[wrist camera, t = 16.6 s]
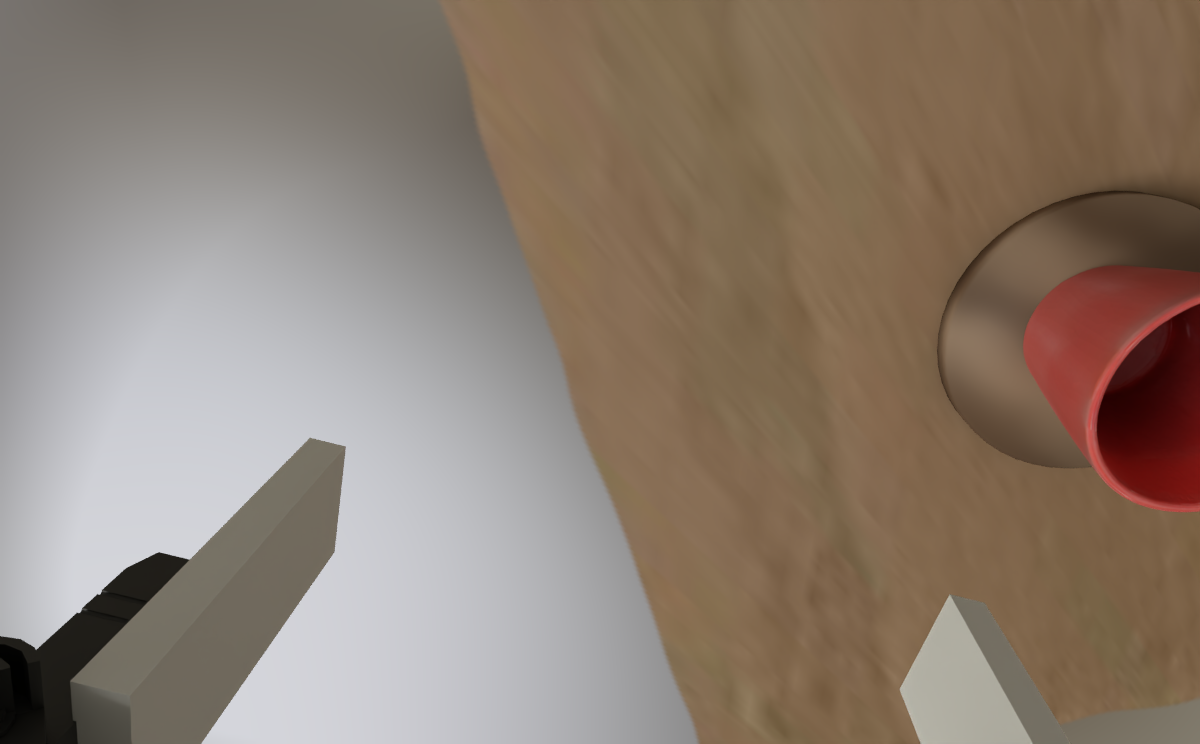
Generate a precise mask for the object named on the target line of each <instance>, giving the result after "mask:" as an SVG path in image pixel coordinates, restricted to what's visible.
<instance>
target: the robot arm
mask: <svg viewBox="0 0 1200 744" xmlns="http://www.w3.org/2000/svg"><path fill="white" fill-rule="evenodd" d="M345 448H346V447H345V446H341V445H336V444H332V443H329V442H325V441H320V440H316V439H312V438H309V439H308V441H307V442H306V443H305V444H304V445H303V446H302V447H301V448H300V449H299V450H298V451H297V452H296V453H295V454H294V455H293V456H292V457H291V458H290V459H289V460H288V461H287V462H286V463H285V464H284V465H283V466H282V467H281V468H280V469H279V470H278V471H277V472H276V473H275V474H274V475H273V476H272V477H271V478H270V479H269V480H268V481H267V482H266V483H265V484H264V485H263V486H262V487H261V488H260V489H259V490H258V491H257V492H256V493H255V494H254V495H253V496H252V497H251V498H250V499H249V500H248V501H247V502H246V503H245V504H244V506H242V508H240V510H239V511H238V512H237V513H236V514H235V515H234V516H233V517H232V518H231V519H230V520H229V521H228V522H227V523H226V524H225V525H224V526H223V527H222V528H221V529H220V530H219V531H218V532H217V533H216V534H215V535H214V536H213V537H212V538H211V539H210V540H209V541H208V542H207V543H206V544H205V545H204V546H203V547H202V548H201V549H200V550H199V551H198V552H197V553H196V554H195V555H194V556H193V557H192V558H191V559H190V560H188V559H184V558H180V557H176V556H172V555H168V554H164V553H160V552H159V553H156V554H154V555H152V556H150V557H148V558H146V559H144V560H142V561H140V562H138V563H136V564H134V565H132V566H130V567H128V568H126V569H125V570H124V571H123V572H121V573H120V574H119V575H118V576H117V577H116V578H115V579H114V580H113V581H112V582H110V583H109V584H108V585H107V586H106V587H105V588H104V589H103V590H102V592H101V594H100V595H98V594H97V595H96V596H95V597H94V598H93V599H92V600H91V601H90V602H89V603H87V604H86V605H85V606H84V607H83V608H82V611H81V612H80V613H76V614H75V615H74V616H73V617H72V618H71V619H70V620H69V621H68V622H67V623H65V624H64V625H63V626H62V627H61V628H60V629H59V630H58V631H57V632H56V633H55V634H53V635H52V636H51V637H50V638H49V639H48V640H47V641H46V642H45V643H43V644H42V645H41V646H40V647H39V648H38V649H37V650H35V648H34V647H33V646H31V645H29V644H28V643H26V642H24V641H22V640H21V639H15V638H8V637H1V636H0V744H201V743H202V741H203V740H204V739H205V737H206V736H207V734H208V733H209V731H210V730H211V728H212V727H213V726H214V724H215V723H216V721H217V720H218V718H219V717H220V716H221V714H222V713H223V711H224V710H225V708H226V707H227V706H228V704H229V703H230V701H231V700H232V698H233V697H234V695H235V694H236V693H237V691H238V690H239V688H240V687H241V685H242V684H243V682H244V681H245V680H246V678H247V677H248V675H249V674H250V673H251V671H252V670H253V668H254V667H255V665H256V664H257V662H258V661H259V660H260V658H261V657H262V655H263V654H264V652H265V651H266V650H267V648H268V647H269V645H270V644H271V642H272V641H273V639H274V638H275V637H276V635H277V634H278V632H279V631H280V629H281V628H282V626H283V625H284V624H285V622H286V621H287V619H288V618H289V616H290V615H291V614H292V612H293V611H294V609H295V608H296V606H297V605H298V604H299V602H300V601H301V599H302V598H303V596H304V595H305V593H306V592H307V590H308V589H309V588H310V586H311V585H312V583H313V582H314V581H315V579H316V578H317V576H318V575H319V573H320V572H321V570H322V569H323V568H324V566H325V565H326V563H327V562H328V560H329V559H330V558H331V556H332V555H333V553H334V551H335V541H336V532H337V522H338V513H339V504H340V495H341V485H342V476H343V467H344V458H345ZM900 691H901V694H902V696H903V699H904V702H905V704H906V707H907V709H908V712H909V714H910V717H911V720H912V722H913V725H914V727H915V730H916V732H917V735H918V738H919V740H920V743H921V744H1071V743H1070V741H1069V739H1068V738H1067V736H1066V735H1065V733H1064V731H1063V730H1062V728H1061V726H1060V725H1059V723H1058V721H1057V720H1056V718H1055V717H1054V715H1053V713H1052V712H1051V710H1050V708H1049V707H1048V705H1047V704H1046V702H1045V700H1044V699H1043V697H1042V695H1041V694H1040V692H1039V691H1038V689H1037V687H1036V686H1035V684H1034V682H1033V681H1032V679H1031V678H1030V676H1029V674H1028V673H1027V671H1026V669H1025V668H1024V666H1023V665H1022V663H1021V661H1020V660H1019V658H1018V656H1017V655H1016V653H1015V652H1014V650H1013V648H1012V647H1011V645H1010V643H1009V642H1008V640H1007V639H1006V637H1005V635H1004V634H1003V632H1002V630H1001V629H1000V627H999V626H998V624H997V622H996V621H995V619H994V617H993V616H992V614H991V613H990V611H989V609H988V608H987V606H986V604H985V603H983V602H979V601H975V600H970V599H966V598H962V597H958V596H954V595H949V597H948V599H947V601H946V603H945V604H944V606H943V608H942V610H941V612H940V614H939V616H938V618H937V620H936V621H935V623H934V625H933V627H932V629H931V631H930V633H929V635H928V637H927V639H926V640H925V642H924V644H923V646H922V648H921V650H920V652H919V654H918V656H917V658H916V659H915V661H914V663H913V665H912V667H911V669H910V671H909V673H908V675H907V676H906V678H905V680H904V682H903V684H902V686H901V688H900Z"/></svg>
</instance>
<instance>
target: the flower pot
mask: <svg viewBox="0 0 1200 744" xmlns="http://www.w3.org/2000/svg"><path fill="white" fill-rule="evenodd" d="M1023 352H1024V358H1025V361H1026V364H1027V367H1028V369H1029V371H1030V373H1031V375H1032V376H1033V378H1034V379H1035V381H1036V383H1037V384H1038V386H1039V388H1040V390H1041V391H1042V393H1043V395H1044V396H1045V398H1046V399H1047V401H1048V403H1049V404H1050V406H1051V408H1052V409H1053V411H1054V412H1055V414H1056V415H1057V417H1058V418H1059V420H1060V421H1061V423H1062V424H1063V426H1064V427H1065V429H1066V430H1067V432H1068V433H1069V435H1070V436H1071V438H1072V439H1073V440H1074V442H1075V443H1076V445H1077V446H1078V448H1079V449H1080V451H1081V452H1082V453H1083V455H1084V456H1085V457H1086V459H1087V460H1088V462H1089V463H1090V464H1091V466H1092V467H1093V468H1094V470H1095V471H1096V472H1097V473H1098V475H1099V476H1100V477H1101V478H1102V479H1103V481H1104V482H1105V483H1106V484H1107V485H1108V486H1109V487H1111V488H1112V489H1113V490H1114V491H1115V492H1117V493H1118V494H1120V495H1121V496H1123V497H1124V498H1126V499H1128V500H1130V501H1132V502H1134V503H1137V504H1139V505H1142V506H1145V507H1149V508H1153V509H1157V510H1163V511H1171V512H1197V511H1200V273H1199V272H1190V271H1181V270H1172V269H1160V268H1149V267H1135V266H1121V265H1112V266H1103V267H1097V268H1093V269H1090V270H1087V271H1084V272H1081V273H1079V274H1077V275H1075V276H1073V277H1071V278H1069V279H1067V280H1065V281H1063V282H1062V283H1060V284H1059V285H1058V286H1056V287H1055V288H1054V289H1053V290H1052V291H1051V292H1049V293H1048V294H1047V295H1046V296H1045V297H1044V299H1043V300H1042V301H1041V302H1040V303H1039V305H1038V306H1037V307H1036V309H1035V311H1034V312H1033V314H1032V316H1031V318H1030V320H1029V322H1028V324H1027V327H1026V330H1025V334H1024V341H1023Z"/></svg>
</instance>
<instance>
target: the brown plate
mask: <svg viewBox="0 0 1200 744" xmlns="http://www.w3.org/2000/svg"><path fill="white" fill-rule="evenodd" d="M1112 265H1121V266H1135V267H1149V268H1160V269H1172V270H1181V271H1190V272H1199V273H1200V209H1198V208H1196V207H1194V206H1191V205H1188V204H1185V203H1182V202H1179V201H1176V200H1173V199H1169V198H1165V197H1160V196H1156V195H1151V194H1145V193H1140V192H1128V191H1108V192H1096V193H1090V194H1085V195H1080V196H1076V197H1072V198H1069V199H1066V200H1062V201H1059V202H1056V203H1053V204H1051V205H1049V206H1046V207H1044V208H1042V209H1040V210H1038V211H1035V212H1033V213H1031V214H1030V215H1028V216H1026V217H1025V218H1023V219H1021V220H1020V221H1018V222H1016V223H1015V224H1013V225H1012V226H1010V227H1009V228H1008V229H1006V230H1005V231H1004V232H1002V233H1001V234H1000V235H998V236H997V237H996V238H995V239H994V240H993V241H992V242H991V243H990V244H988V245H987V246H986V247H985V248H984V249H983V250H982V251H981V252H980V253H979V254H978V256H977V257H976V258H975V259H974V260H973V261H972V263H971V264H970V265H969V266H968V268H967V269H966V270H965V272H964V273H963V275H962V276H961V278H960V279H959V281H958V282H957V284H956V286H955V288H954V290H953V292H952V294H951V296H950V298H949V300H948V302H947V305H946V308H945V311H944V313H943V316H942V320H941V325H940V329H939V334H938V347H937V354H938V367H939V372H940V376H941V380H942V384H943V386H944V389H945V391H946V394H947V396H948V398H949V400H950V401H951V403H952V405H953V406H954V408H955V410H956V411H957V412H958V413H959V414H960V416H961V417H962V418H963V419H964V420H965V422H966V423H967V424H968V425H969V426H970V427H971V428H972V430H973V431H974V432H975V433H976V434H977V435H979V436H980V437H981V438H982V439H983V440H984V441H985V442H986V443H988V444H989V445H991V446H992V447H994V448H996V449H997V450H999V451H1000V452H1002V453H1004V454H1006V455H1009V456H1011V457H1013V458H1015V459H1018V460H1021V461H1024V462H1027V463H1031V464H1035V465H1041V466H1046V467H1055V468H1086V467H1092V466H1091V464H1090V463H1089V462H1088V460H1087V459H1086V457H1085V456H1084V455H1083V453H1082V452H1081V451H1080V449H1079V448H1078V446H1077V445H1076V443H1075V442H1074V440H1073V439H1072V438H1071V436H1070V435H1069V433H1068V432H1067V430H1066V429H1065V427H1064V426H1063V424H1062V423H1061V421H1060V420H1059V418H1058V417H1057V415H1056V414H1055V412H1054V411H1053V409H1052V408H1051V406H1050V404H1049V403H1048V401H1047V399H1046V398H1045V396H1044V395H1043V393H1042V391H1041V390H1040V388H1039V386H1038V384H1037V383H1036V381H1035V379H1034V378H1033V376H1032V375H1031V373H1030V371H1029V369H1028V367H1027V364H1026V361H1025V358H1024V352H1023V341H1024V334H1025V330H1026V327H1027V324H1028V322H1029V320H1030V318H1031V316H1032V314H1033V312H1034V311H1035V309H1036V307H1037V306H1038V305H1039V303H1040V302H1041V301H1042V300H1043V299H1044V297H1045V296H1046V295H1047V294H1048V293H1049V292H1051V291H1052V290H1053V289H1054V288H1055V287H1056V286H1058V285H1059V284H1060V283H1062V282H1063V281H1065V280H1067V279H1069V278H1071V277H1073V276H1075V275H1077V274H1079V273H1081V272H1084V271H1087V270H1090V269H1093V268H1097V267H1103V266H1112Z"/></svg>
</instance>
